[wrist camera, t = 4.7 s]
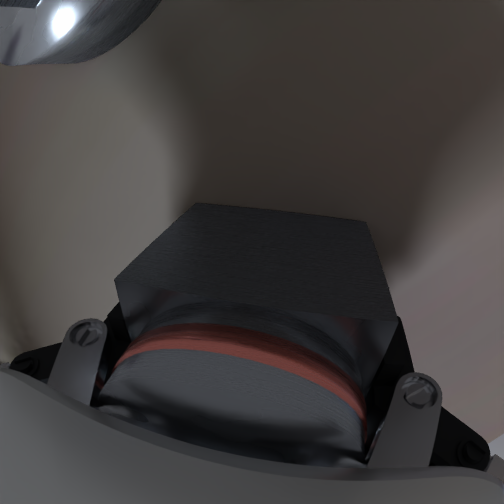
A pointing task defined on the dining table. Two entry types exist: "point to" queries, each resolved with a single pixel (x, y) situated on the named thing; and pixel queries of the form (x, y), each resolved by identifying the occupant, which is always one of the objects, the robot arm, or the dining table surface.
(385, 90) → the dining table surface
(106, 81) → the dining table surface
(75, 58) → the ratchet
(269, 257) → the grey domed block
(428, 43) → the dining table surface
